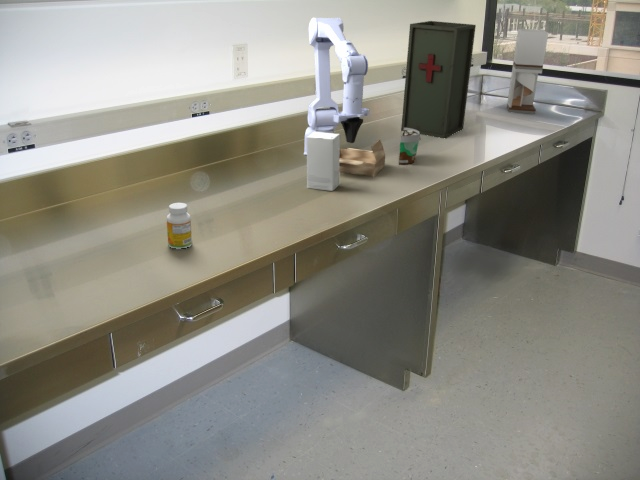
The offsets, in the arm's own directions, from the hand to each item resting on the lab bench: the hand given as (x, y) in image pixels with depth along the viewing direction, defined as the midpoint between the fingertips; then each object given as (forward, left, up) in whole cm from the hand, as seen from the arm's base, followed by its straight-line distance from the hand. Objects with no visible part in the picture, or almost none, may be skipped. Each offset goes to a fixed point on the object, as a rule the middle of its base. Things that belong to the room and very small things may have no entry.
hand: (350, 142), depth 199 cm
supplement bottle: (-18, -68, -11) cm, 71 cm away
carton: (0, +9, -10) cm, 14 cm away
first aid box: (+12, +69, -11) cm, 71 cm away
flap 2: (+8, +7, -6) cm, 12 cm away
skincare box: (-3, -15, -11) cm, 18 cm away
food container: (+14, +22, -11) cm, 28 cm away
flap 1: (0, +1, -6) cm, 6 cm away
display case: (+41, +125, -11) cm, 132 cm away
